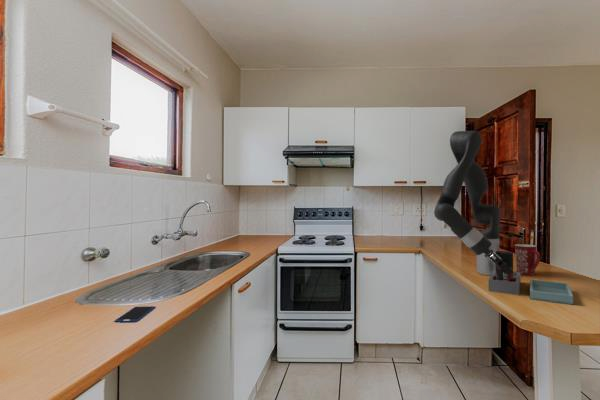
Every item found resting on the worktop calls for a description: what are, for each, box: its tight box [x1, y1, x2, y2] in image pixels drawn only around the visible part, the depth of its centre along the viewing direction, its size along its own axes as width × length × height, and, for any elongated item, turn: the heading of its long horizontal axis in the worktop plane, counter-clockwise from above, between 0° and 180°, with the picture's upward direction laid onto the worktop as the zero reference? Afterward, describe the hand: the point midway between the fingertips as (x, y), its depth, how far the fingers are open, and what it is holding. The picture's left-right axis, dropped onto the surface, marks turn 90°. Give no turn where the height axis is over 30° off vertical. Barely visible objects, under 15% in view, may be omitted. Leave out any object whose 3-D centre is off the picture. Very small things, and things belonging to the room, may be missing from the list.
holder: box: [488, 270, 522, 296], centre depth 134 cm, size 21×10×4 cm, turn 144°
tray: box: [529, 278, 574, 306], centre depth 122 cm, size 20×12×3 cm, turn 144°
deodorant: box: [496, 250, 514, 282], centre depth 129 cm, size 6×6×15 cm
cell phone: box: [113, 305, 156, 324], centre depth 105 cm, size 7×14×1 cm, turn 1°
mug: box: [513, 243, 541, 276], centre depth 155 cm, size 13×9×14 cm
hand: (509, 271), depth 128 cm, fingers closed on deodorant, 6 cm apart
